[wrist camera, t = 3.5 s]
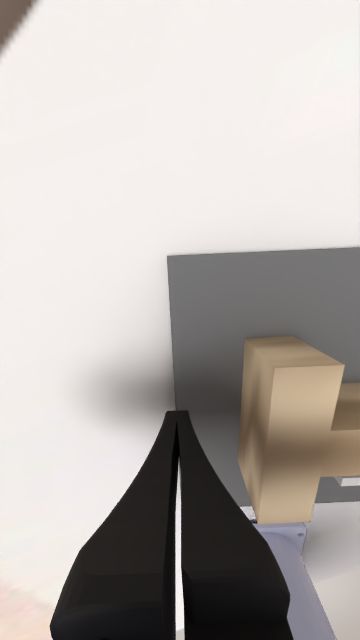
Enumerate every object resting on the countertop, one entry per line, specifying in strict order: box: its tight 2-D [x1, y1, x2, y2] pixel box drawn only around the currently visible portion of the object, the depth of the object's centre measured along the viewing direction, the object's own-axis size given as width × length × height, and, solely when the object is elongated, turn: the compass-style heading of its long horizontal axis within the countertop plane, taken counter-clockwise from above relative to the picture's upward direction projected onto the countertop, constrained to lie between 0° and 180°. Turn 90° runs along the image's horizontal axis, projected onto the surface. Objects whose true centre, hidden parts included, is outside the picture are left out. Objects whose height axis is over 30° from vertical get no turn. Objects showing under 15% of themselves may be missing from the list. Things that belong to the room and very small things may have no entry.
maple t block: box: [238, 336, 360, 524], centre depth 11 cm, size 10×10×4 cm
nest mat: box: [167, 248, 360, 507], centre depth 12 cm, size 20×24×1 cm
